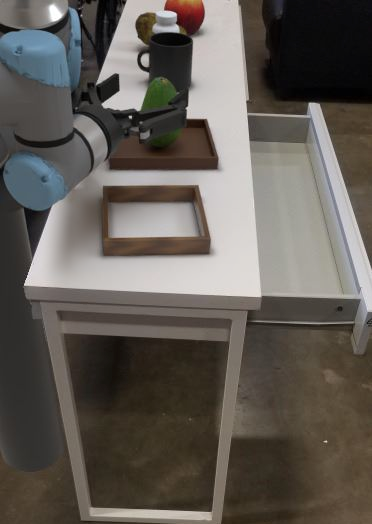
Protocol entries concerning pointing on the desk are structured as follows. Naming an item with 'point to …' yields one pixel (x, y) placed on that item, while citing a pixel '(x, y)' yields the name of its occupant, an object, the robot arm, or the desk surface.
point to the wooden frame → (155, 243)
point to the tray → (170, 151)
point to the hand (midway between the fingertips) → (151, 89)
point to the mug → (169, 58)
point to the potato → (148, 26)
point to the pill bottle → (165, 22)
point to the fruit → (187, 13)
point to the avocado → (156, 97)
